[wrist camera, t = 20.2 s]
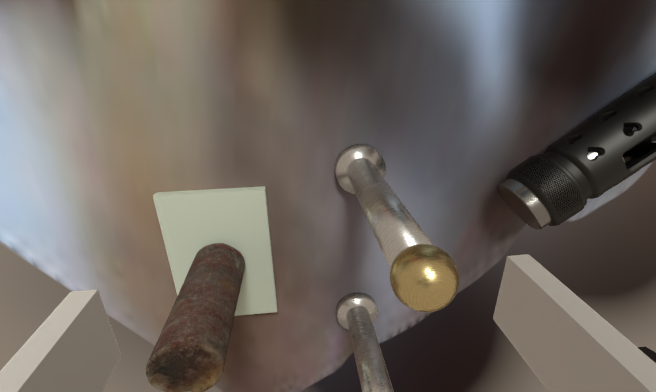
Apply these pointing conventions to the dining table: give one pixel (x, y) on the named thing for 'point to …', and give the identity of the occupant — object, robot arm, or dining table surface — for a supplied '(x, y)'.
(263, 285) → the sage board
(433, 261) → the stanchion posts
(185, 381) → the rusty metal cylinder
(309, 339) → the dining table surface
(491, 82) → the dining table surface
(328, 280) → the dining table surface
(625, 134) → the muzzle brake
